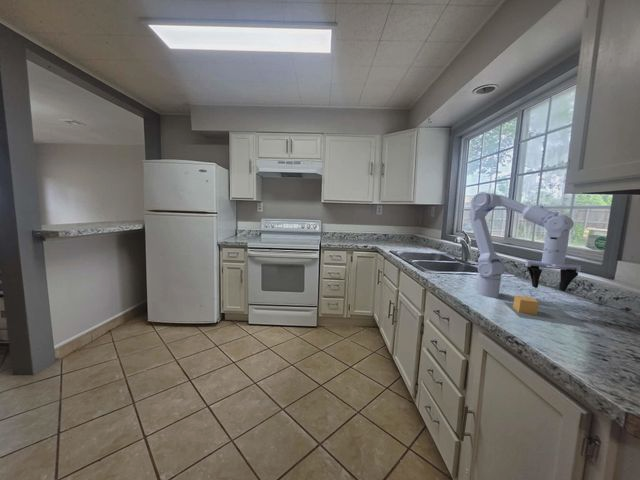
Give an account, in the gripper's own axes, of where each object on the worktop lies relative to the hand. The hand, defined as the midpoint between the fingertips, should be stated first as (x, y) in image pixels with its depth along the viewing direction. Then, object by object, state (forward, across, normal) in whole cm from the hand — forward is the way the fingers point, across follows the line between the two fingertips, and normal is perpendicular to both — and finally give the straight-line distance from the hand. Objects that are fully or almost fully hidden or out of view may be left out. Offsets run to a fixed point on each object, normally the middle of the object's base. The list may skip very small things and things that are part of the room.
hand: (548, 288), depth 85 cm
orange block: (+8, -7, -3) cm, 11 cm away
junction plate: (+9, -2, -3) cm, 10 cm away
